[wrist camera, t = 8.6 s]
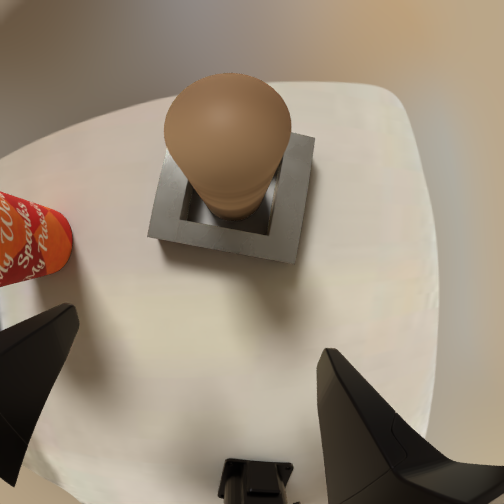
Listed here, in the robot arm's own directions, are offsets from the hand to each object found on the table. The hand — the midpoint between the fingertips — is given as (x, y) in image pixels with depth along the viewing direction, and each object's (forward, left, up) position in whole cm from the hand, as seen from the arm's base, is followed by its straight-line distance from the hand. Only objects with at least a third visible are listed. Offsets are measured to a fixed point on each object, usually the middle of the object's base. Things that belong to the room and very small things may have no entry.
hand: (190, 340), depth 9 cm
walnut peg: (+7, 0, -12) cm, 14 cm away
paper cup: (+1, +16, -12) cm, 20 cm away
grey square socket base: (+7, 0, -12) cm, 14 cm away
